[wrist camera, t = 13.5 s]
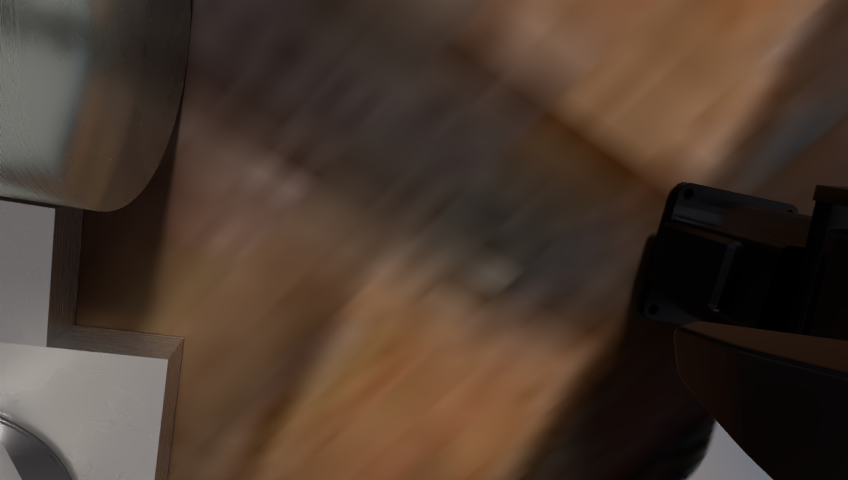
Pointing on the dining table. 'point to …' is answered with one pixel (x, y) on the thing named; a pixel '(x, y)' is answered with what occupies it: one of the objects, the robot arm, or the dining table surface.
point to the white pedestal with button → (7, 466)
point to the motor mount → (62, 230)
